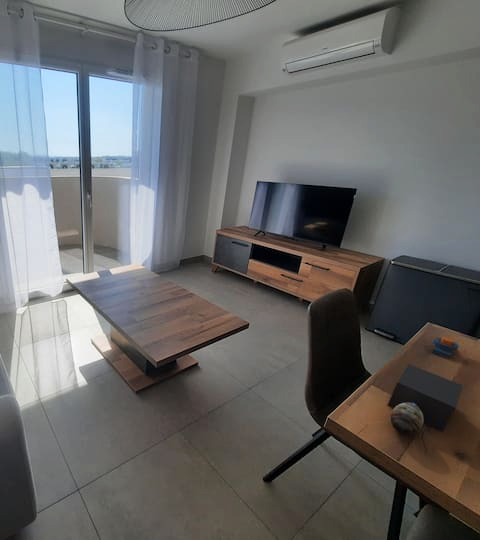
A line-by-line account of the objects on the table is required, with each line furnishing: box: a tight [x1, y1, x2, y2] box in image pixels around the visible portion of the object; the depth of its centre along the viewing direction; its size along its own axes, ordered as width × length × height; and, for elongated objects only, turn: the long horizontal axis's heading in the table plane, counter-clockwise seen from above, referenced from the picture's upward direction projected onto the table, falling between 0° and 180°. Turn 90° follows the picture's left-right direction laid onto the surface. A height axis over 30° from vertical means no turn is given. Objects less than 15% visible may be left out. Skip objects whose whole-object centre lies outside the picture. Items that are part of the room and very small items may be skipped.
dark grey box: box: [387, 363, 464, 433], centre depth 80 cm, size 12×11×8 cm
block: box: [431, 337, 460, 360], centre depth 104 cm, size 10×6×4 cm, turn 127°
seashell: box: [390, 403, 424, 436], centre depth 74 cm, size 10×6×8 cm, turn 125°
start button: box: [440, 336, 455, 346], centre depth 103 cm, size 3×3×2 cm
